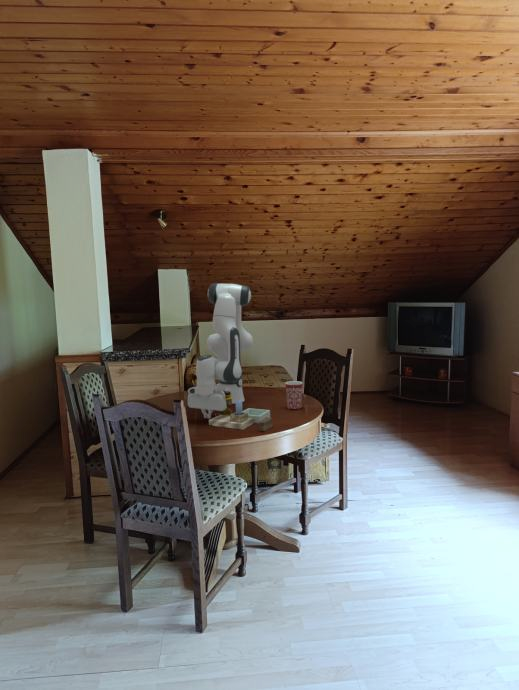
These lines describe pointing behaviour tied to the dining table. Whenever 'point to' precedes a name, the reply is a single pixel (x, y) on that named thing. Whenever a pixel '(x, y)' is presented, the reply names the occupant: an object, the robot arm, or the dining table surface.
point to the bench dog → (265, 424)
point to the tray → (257, 414)
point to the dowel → (239, 407)
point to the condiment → (229, 404)
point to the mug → (294, 394)
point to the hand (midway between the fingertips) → (207, 418)
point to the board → (232, 421)
